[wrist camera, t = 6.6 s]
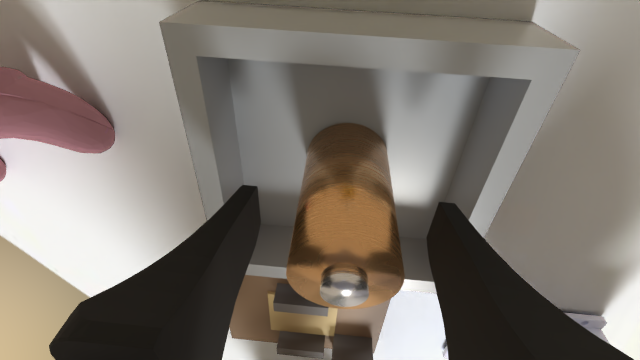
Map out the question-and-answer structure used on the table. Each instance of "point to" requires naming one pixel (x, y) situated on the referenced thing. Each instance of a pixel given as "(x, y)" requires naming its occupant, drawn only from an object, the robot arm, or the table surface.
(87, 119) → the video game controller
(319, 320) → the brown stand base
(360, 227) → the cell
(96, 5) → the table surface
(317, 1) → the table surface
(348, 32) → the tray
